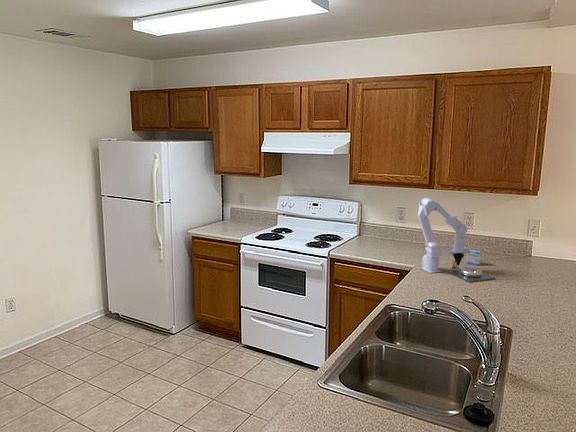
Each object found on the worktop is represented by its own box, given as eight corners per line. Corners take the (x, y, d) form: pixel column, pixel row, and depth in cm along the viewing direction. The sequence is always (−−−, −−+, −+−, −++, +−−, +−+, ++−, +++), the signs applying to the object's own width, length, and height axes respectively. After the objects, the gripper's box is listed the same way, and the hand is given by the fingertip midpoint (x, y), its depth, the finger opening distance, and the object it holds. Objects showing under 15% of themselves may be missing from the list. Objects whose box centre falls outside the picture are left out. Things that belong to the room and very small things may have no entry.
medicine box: (465, 263, 279) (466, 250, 277) (466, 262, 282) (467, 249, 281) (479, 265, 275) (480, 252, 273) (479, 263, 279) (481, 250, 277)
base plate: (447, 272, 261) (447, 270, 261) (472, 269, 267) (472, 268, 266) (469, 282, 244) (469, 280, 244) (495, 279, 250) (495, 277, 250)
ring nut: (485, 274, 254) (486, 267, 253) (474, 278, 248) (475, 270, 247) (458, 266, 268) (458, 260, 267) (447, 270, 262) (447, 263, 261)
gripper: (465, 241, 267) (463, 262, 270) (444, 242, 264) (442, 264, 267) (473, 243, 261) (471, 265, 263) (451, 245, 257) (449, 267, 260)
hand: (457, 265), depth 265 cm, fingers closed
